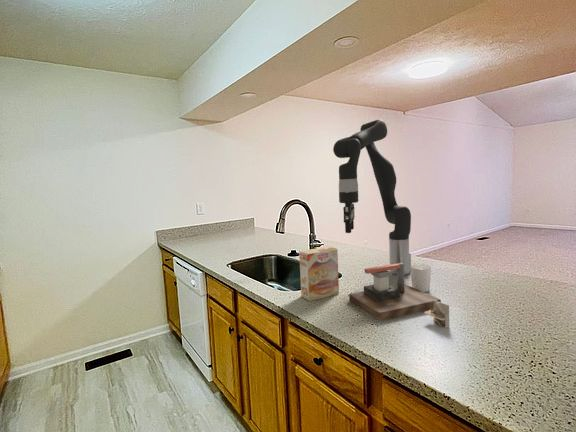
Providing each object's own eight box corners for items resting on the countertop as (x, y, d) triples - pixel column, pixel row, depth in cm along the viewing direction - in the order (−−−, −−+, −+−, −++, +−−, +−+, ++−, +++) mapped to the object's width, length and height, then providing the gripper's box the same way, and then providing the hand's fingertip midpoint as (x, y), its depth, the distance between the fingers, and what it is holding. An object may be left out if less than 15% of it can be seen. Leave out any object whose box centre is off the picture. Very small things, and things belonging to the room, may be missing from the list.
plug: (383, 292, 129) (382, 268, 128) (391, 296, 124) (391, 272, 123) (371, 294, 127) (370, 270, 126) (379, 299, 122) (379, 274, 121)
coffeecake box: (309, 301, 131) (307, 254, 129) (300, 296, 138) (298, 250, 136) (339, 293, 138) (338, 248, 136) (330, 289, 145) (328, 245, 142)
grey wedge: (442, 330, 102) (442, 307, 101) (424, 322, 108) (423, 301, 108) (449, 328, 104) (449, 305, 103) (431, 320, 110) (431, 299, 109)
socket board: (404, 290, 138) (403, 276, 137) (440, 307, 119) (440, 291, 118) (349, 301, 129) (348, 286, 128) (379, 321, 110) (379, 304, 110)
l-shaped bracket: (401, 289, 130) (401, 262, 129) (405, 291, 127) (405, 264, 126) (364, 296, 124) (364, 268, 123) (368, 298, 122) (367, 270, 121)
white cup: (431, 287, 140) (431, 264, 139) (430, 293, 133) (430, 269, 132) (411, 285, 143) (411, 263, 142) (410, 291, 136) (409, 268, 135)
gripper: (341, 190, 138) (342, 228, 139) (336, 191, 124) (337, 234, 126) (359, 189, 135) (360, 228, 137) (356, 191, 122) (357, 234, 124)
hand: (349, 231), depth 131 cm, fingers open, 8 cm apart
